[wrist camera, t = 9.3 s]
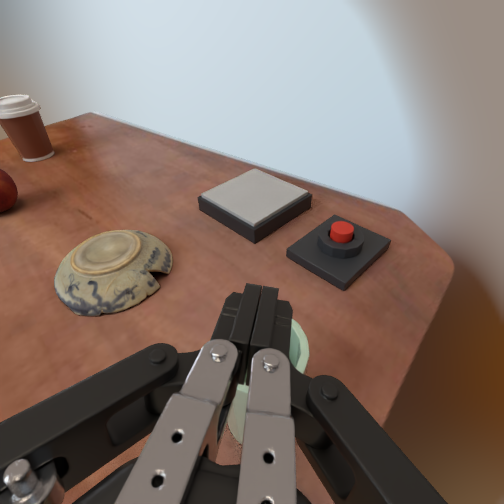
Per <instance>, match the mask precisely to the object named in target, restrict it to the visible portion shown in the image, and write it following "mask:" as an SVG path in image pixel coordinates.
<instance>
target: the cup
mask: <svg viewBox="0 0 504 504" xmlns="http://www.w3.org/2000/svg"><path fill="white" fill-rule="evenodd" d="M309 355H310V353H309V346H308V339H307V336H306V335H305V333H304V332H303V330H302V328H301V327H300V325H299V324H298V323H297V322H296V321H295V320H293V319H292V326H291V339H290V352H289V357H290V360H291V363H292V364H293V366H294V367H295V368H296V369H297V370H298V371H299V372H301V373H303V374H304V375H306V373H307V367H308V362H309ZM246 376H247V372H246ZM248 390H249V386H246V377H245V382H244V385H241V384H238V387H237V391H236V395H235V397H234V402H233V405H232V408H231V411H230V415H229V418H228V421H227V425H228V427H229V430H230V431H231V433H232V435H233V436H234V437H235V439H236V440H237V441H238V442H240V443H241V444H242V441H243V432H244V424H245V415H246V406H247V398H248Z"/></svg>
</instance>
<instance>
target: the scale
mask: <svg viewBox="0 0 504 504" xmlns="http://www.w3.org/2000/svg"><path fill="white" fill-rule="evenodd" d="M311 200H312V194H310V193H308V191H306V190H304V189H302V188H299V187H297V186H295V185H292V184H290V183H287V182H285V181H283V180H280V179H278V178H276V177H273V176H271V175H269V174H266V173H264V172H262V171H259V170H257V169H252V170H250V171H248V172H246V173H244V174H242V175H240V176H238V177H236V178H234V179H231V180H229V181H227V182H225V183H223V184H221V185H219V186H217V187H215V188H213V189H210V190H208V191H206V192H204V193H202V194H201V196H199V197H198V203H199V208H200V210H201V211H203V212H204V213H206V214H208V215H209V216H211V217H212V218H214V219H216V220H217V221H219V222H221V223H222V224H224V225H225V226H227V227H229V228H230V229H232V230H233V231H235V232H237V233H238V234H240V235H242V236H243V237H245V238H246V239H248V240H250V241H251V242H253V243H256V242H258V241H260V240H261V239H263V238H264V237H266V236H267V235H269V234H270V233H272V232H273V231H275V230H276V229H278V228H279V227H281V226H282V225H284V224H286V223H287V222H289V221H290V220H292V219H293V218H295V217H296V216H298V215H299V214H301V213H302V212H304V211H305V210H307V209H309V208H310V207H311Z"/></svg>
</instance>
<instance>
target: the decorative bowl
mask: <svg viewBox="0 0 504 504" xmlns="http://www.w3.org/2000/svg"><path fill="white" fill-rule="evenodd" d="M172 262H173V260H172V254H171V251H170V250H169V248H168V247H167V246H166V245H165V244H164V243H163V242H162V241H161V240H159V239H158V238H156V237H155V236H153V235H150V234H148V233H145V232H141V231H136V230H113V231H107V232H103V233H100V234H97V235H95V236H92V237H90V238H89V239H87V240H85V241H84V242H83V243H81V244H80V245H78V246H77V247H75V248H74V249H73V250H72V251H71V252H70V253H69V254H68V255H67V256H66V257H65V258H64V259H63V261H62V262H61V264H60V266H59V267H58V270H57V272H56V275H55V278H54V287H55V291H56V293H57V295H58V297H59V298H60V300H61V301H63V303H65V304H66V305H67V306H68V307H69V308H70V309H71V310H72V311H73V312H74V313H75V314H77V315H83V316H99V315H100V314H101V312H103V313H112V312H119V311H122V310H125V309H127V308H129V307H131V306H133V305H136V304H139V303H140V301H142V300H143V299H145V298H146V296H147V295H151V294H153V293H154V292H155V291H156V290H157V289H158V288H160V285H159V284H158V282H157V281H156V280H155V278H154V277H153V276H152V275H151V274H150V273H149V272H163V273H167V274H169V273H170V270H171V267H172Z"/></svg>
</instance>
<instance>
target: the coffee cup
mask: <svg viewBox="0 0 504 504" xmlns="http://www.w3.org/2000/svg"><path fill="white" fill-rule="evenodd" d="M40 109H41V107H40V105H39V104H38V103H36V102H34V101H33V100H31V98H30V96H28V95H11V96H5V97H0V125H1V126H2V128H3V129H4V131H5V132H6V134H7V135H8V137H9V138H10V140H11V141H12V143H13V144H14V146H15V147H16V149H17V150H18V152H19V153H20V155H21V156H22V158H23V160H24V161H27V162H34V161H40V160H44V159H47V158H49V157H51V156H52V155H53V154H54V151H53V148H52V146H51V143H50V140H49V138H48V135H47V132H46V130H45V127H44V124H43V122H42V119H41V116H40V114H39V110H40Z"/></svg>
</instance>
